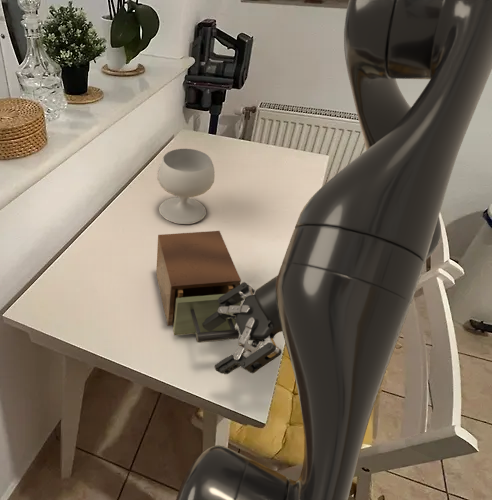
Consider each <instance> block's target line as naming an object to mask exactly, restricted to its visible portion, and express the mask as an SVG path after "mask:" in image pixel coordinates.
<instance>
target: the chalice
mask: <svg viewBox="0 0 492 500" xmlns="http://www.w3.org/2000/svg"><path fill="white" fill-rule="evenodd" d="M215 172H216V171H215V166H214V163H213V161H212V159H211V157H210V156H209V154H207V153H205V152H203V151H201V150H197V149H193V148H176V149H172V150H170V151H168V152H166V153H165V154H164V156H163V157H162V158H161V159H160V162H159V165H158V167H157V174H156V175H157V176H156V178H157V181H158V184H159V185H160V187H161V188H162V189H163V190H164V191H165V192H167V193H168V194H170V195H173V196H175V197H171V198H168V199H166V200H164V201H163V202H161V204H160V205H159V207H158V208H159V214H160V215H161V216H162V217H163V218H164V219H165V220H167V221H169V222H171V223H175V224H179V225H190V224H195V223H198V222H200V221H202V220H203V219H204V218H205V216H206V214H207V211H206V208H205V206H204V204H202V203H201V202H200V201H198V200H196V199H194V198H195V197H199V196H202V195H204V194H205V193H207V192H209V190H210V189H211V188H212V186H213V185H214V183H215V177H216V176H215V175H216V174H215Z"/></svg>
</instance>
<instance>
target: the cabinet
mask: <svg viewBox="0 0 492 500" xmlns="http://www.w3.org/2000/svg"><path fill="white" fill-rule="evenodd" d="M156 250H157V251H156V269H155V274H156V280H157V283H158V288H159V292H160V297H161V301H162V302H161V303H162V306H163V310H164V315H165V320H166V323H167V326H168V327H169V326H174V313H173V312H174V301H175V291H176V289H184V288H196V287H209V286H221V285H232V286H233V289H234V288H235V287H237V286H239V285H240V284H242V279H241V277H240V275H239V273H238V271H237V268H236V266H235V264H234V261H233V258H232V256H231V254H230V252H229V250H228V247H227V245H226V242H225V240H224V238H223V236H222V234H221V231H220V230H209V231H193V232H182V233H180V232H177V233H165V234H164V233H163V234H157V249H156Z"/></svg>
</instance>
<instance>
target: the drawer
mask: <svg viewBox="0 0 492 500" xmlns="http://www.w3.org/2000/svg"><path fill="white" fill-rule="evenodd" d="M232 289H233V286H232V285H221V286H209V287H196V288H184V289H176V291H175V301H174V312H173V313H174V325H172V327H173V328H172V332H173V336H185V335H194V334H195V340H196V343H207V342H218V341H229V340H239V339H240V332H239V328H238V329H237V328H236V326H237V324H236V322H235V319H227V318H226V322H224V323H223V324H221V325H220V326H218V327H217V328H215V329H214V330H212V331H207V330H206V329H204V328H203V325H202V323H203V322H205V320H206V318H208V317H209V316H211V315H212V314H214V313H215V312H217V311H218V308H219V304H220V303H218V299H219V298H220V297H221V296H223V295H224V294H226V293H227V292H229V291H231V290H232ZM230 300H231V299H230ZM228 301H229V300H228ZM241 305H242V301H241V302H239V303H238V304H236V305H234V306H241Z"/></svg>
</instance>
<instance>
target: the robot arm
mask: <svg viewBox="0 0 492 500" xmlns="http://www.w3.org/2000/svg"><path fill="white" fill-rule="evenodd" d="M344 19H345V20H344V29H343V47H344V50H343V51H344V60H345V67H346V71H347V76H348V80H349V84H350V89H351V93H352V98H353V102H354V103H353V104H354V108H355V112H356V115H357V119H358V123H359V126H360V127H359V128H360V130H361V133H362V137H363V142H364V147H365V150H364V152H362V153H361V154H360V155H358V156H356V158H354V159H353V160H352V161H351V162H350V163H349V164H347V165H346V166H344V168H342V169H341V170H340V171H338V172H337V173H336V174H335V175H334V176H332V177H331V178H330V179H329V180H328V181H327V182H326V183H325V184H323V186H322V187H320V188H319V189H318V190H317V191H316V192H315V193H314V194H313V195H312V196H311V198H309V199H308V201H307V202H306V204H305V205H304V206H303V207H302V209H301V211H300V213H299V215H298V218H297V221H296V224H295V226H294V229H293V232H292V234H291V237H290V240H289V243H288V245H287V248H286V251H285V254H284V257H283V259H282V262H281V266H280V268H279V271H278V273H277V275H275V277H273V278H271V279H270V280H269V281H267V282H265V283H264V284H263V285H261V286H260V287H258V288H257V289H256V290H255V289H254V288H253V287H252V286H250V285H249V284H248V283H247V282H245V281H244V282H241V283H240V285H239V286H237V287H235V288H234V289H232V290H231V291H229V292H227V293H226V294H224V295H223V296H221V297H220V298H219V299H218V303H220V304H219V308H218V311H217V312H215V313H214V314H212V315H211V316H209V317H208V318H206V320H205V322H203V323H202V325H203V328H204V329H206V330H207V331H212V330H214V329H215V328H217V327H218V326H220V325H221V324H223V323H224V322H226V318H227V319H235V322H236V326H237V327H238V331H239V339H238V343H237V344H238V346H237V348H236V350H235V352H234V353H233V354H232V353H231V354H230V355H228V356H227V357H225V358H223V359H221V360H220V361H219V362H217V363H215V365H214V370H215V371H216V372H218V373H220V374H221V375H222V374H224V375H228V374H230V373H232V372H234V371H235V370H237V369H239V368H241V369H243V370H245V371H247V372H248V373H250V374H255V373H256V372H258V371H260V370H261V369H263V368H264V367H265V366H266V365H268V364H271V363H272V362H273V361H274V360H276V359H277V358H278V357H280V356H281V355H282V353H283V351H282V349H281V348H279V346H277V344H276V342H275V341H274V338H275V337H276V336H277V334H279V333H282V335H283V339H284V344H285V347H286V350H287V353H288V357H289V361H290V365H291V368H292V371H293V376H294V381H295V384H296V388H297V389H296V390H297V393H298V394H297V396H298V400H299V406H300V413H301V414H300V415H301V420H302V421H301V422H302V427H303V428H302V429H303V460H302V467H301V471H300V475H299V477H298V478H297V480H294V479H291V478H289V477H287V476H286V475H283V474H282V473H280V472H277V471H275V470H274V469H271V468H269V467H267V466H265V465H263V464H261V463H259V462H257V461H256V460H253V459H251V458H250V457H247V456H245V455H243V454H241V453H239V452H237V451H235V450H233V449H232V448H229V447H226V446H224V445H219V444H217V445H216V444H215V445H213V446H209V447H208V448H206V449H204V450H203V451H202V452H201V453H199V454H198V456H197V457H196V459H195V460H193V462H192V463H191V465H190V466H189V468H188V469H187V472H186V473H185V476H184V477H183V479H182V482H181V483H180V487H179V489H178V491H177V495H176V498H175V500H348V499H349V496H350V493H351V492H350V491H351V488H352V485H353V481H354V478H355V473H356V470H357V466H358V462H359V459H360V454H361V451H362V447H363V443H364V439H365V435H366V432H367V430H368V426H369V422H370V419H371V416H372V413H373V410H374V407H375V404H376V401H377V398H378V396H379V395H378V394H379V392H380V390H381V386H382V384H383V381H384V378H385V375H386V373H387V370H388V368H389V365H390V362H391V360H392V356H393V354H394V351H395V348H396V346H397V344H398V340H399V338H400V336H401V333H402V330H403V328H404V326H405V322H406V320H407V317H408V315H409V312H410V309H411V306H412V304H413V300H414V297H415V295H416V291H417V289H418V286H419V283H420V279H421V277H422V274H423V271H424V267H425V264H426V262H427V260H428V259H429V258H431V256H432V255H433V254H434V253H435V251H436V250H437V248H438V247H439V244H440V241H441V237H442V224H441V220H440V213H441V211H442V206H443V202H444V199H445V196H446V192H447V189H448V185H449V182H450V180H451V177H452V173H453V169H454V167H455V163H456V162H457V161H456V160H457V158H458V154H459V153H460V149H461V147H462V144H463V141H464V139H465V136H466V134H467V131H468V128H469V126H470V124H471V121H472V119H473V116H474V114H475V112H476V109H477V106H478V105H479V102H480V99H481V97H482V94H483V92H484V89H485V87H486V85H487V82H488V79H489V77H490V75H491V72H492V0H348V3H347V7H346V12H345V18H344ZM397 79H399V80H400V79H402V80H428V82H427V84H426V85H425V87H424V88H423V90H421V92H420V94H419V96H418V97H417V99H416V100H415V102H414V103H413V104H412V106H410V104H409V103H408V101H407V100H406V98H405V96H404V94H403V92H402V91H401V89H400V87H399V85H398V82H397ZM230 299H231V300H230ZM228 300H229V301H228ZM239 302H241V305H240V306H234V305H236V304H238V303H239ZM249 341H250V342H251V343H249ZM262 342H263V343H262Z"/></svg>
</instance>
